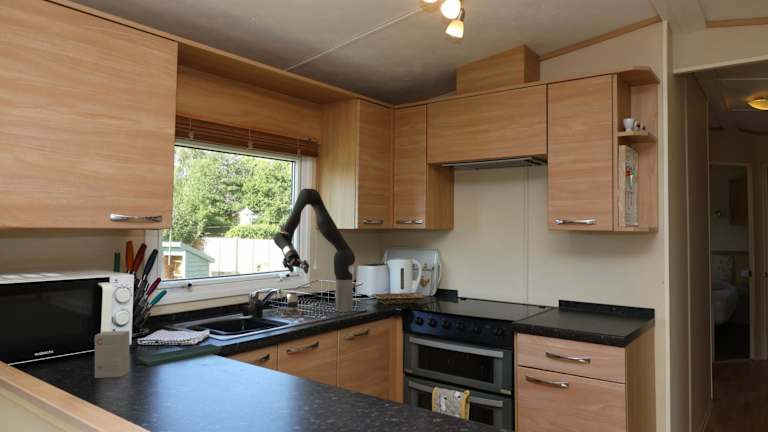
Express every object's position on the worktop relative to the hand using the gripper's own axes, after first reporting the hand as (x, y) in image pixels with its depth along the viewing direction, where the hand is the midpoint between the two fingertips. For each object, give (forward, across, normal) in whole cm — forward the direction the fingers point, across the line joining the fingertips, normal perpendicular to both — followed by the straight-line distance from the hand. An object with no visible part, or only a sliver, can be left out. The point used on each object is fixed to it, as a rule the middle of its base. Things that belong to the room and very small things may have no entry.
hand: (299, 271), depth 283 cm
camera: (+15, -25, +20) cm, 35 cm away
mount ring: (+20, -6, +14) cm, 25 cm away
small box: (+84, -97, -13) cm, 129 cm away
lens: (+11, -1, +19) cm, 22 cm away
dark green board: (+74, -74, -9) cm, 105 cm away
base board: (+20, -6, +14) cm, 25 cm away
